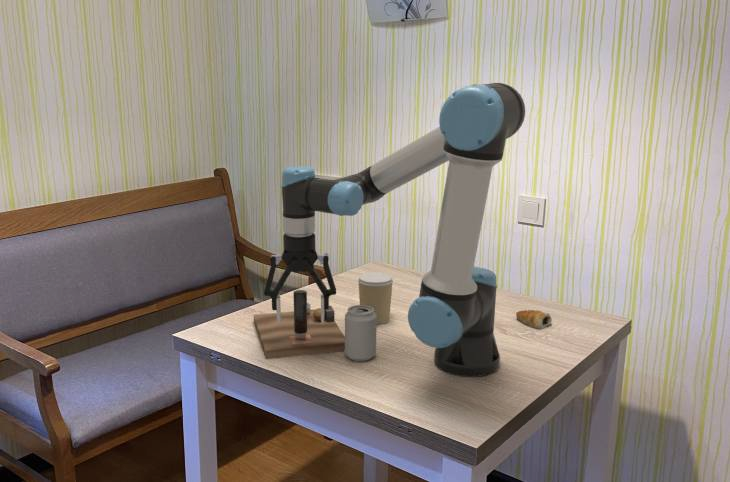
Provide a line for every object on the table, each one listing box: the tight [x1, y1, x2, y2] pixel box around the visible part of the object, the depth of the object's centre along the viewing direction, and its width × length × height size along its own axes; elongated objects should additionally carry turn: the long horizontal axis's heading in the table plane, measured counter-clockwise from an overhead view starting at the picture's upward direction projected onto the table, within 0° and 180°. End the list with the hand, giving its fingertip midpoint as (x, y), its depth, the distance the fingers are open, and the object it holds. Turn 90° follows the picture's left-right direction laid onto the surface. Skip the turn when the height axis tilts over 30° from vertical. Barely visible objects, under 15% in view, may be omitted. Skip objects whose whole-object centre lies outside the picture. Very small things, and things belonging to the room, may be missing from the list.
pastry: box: [515, 309, 553, 330], centre depth 191 cm, size 9×7×4 cm
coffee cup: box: [357, 271, 394, 325], centre depth 191 cm, size 9×9×12 cm
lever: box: [293, 289, 312, 339], centre depth 181 cm, size 22×4×12 cm, turn 3°
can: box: [344, 304, 377, 362], centre depth 168 cm, size 8×8×12 cm
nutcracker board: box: [253, 305, 345, 360], centre depth 181 cm, size 24×20×5 cm
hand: (300, 321), depth 172 cm, fingers open, 10 cm apart
